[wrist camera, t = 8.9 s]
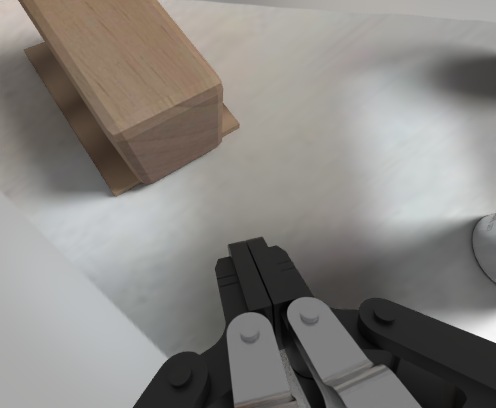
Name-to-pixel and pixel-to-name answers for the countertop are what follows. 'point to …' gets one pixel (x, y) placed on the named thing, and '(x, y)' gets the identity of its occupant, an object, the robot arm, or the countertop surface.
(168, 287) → the countertop surface
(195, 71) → the block
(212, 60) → the countertop surface
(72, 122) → the cutting board
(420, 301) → the countertop surface
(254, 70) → the countertop surface
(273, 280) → the robot arm
